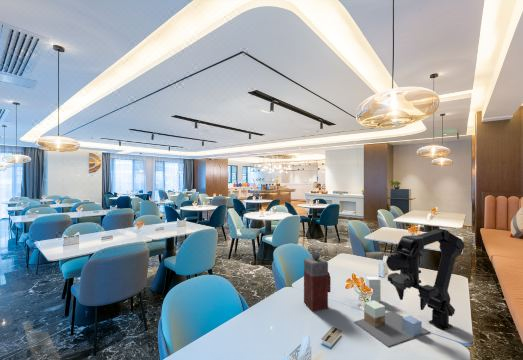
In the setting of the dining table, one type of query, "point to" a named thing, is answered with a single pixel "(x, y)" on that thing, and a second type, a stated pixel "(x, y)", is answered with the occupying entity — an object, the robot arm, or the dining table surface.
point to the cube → (411, 325)
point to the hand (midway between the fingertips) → (411, 304)
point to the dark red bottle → (316, 282)
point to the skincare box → (374, 287)
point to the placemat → (389, 330)
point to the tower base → (374, 320)
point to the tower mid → (374, 309)
